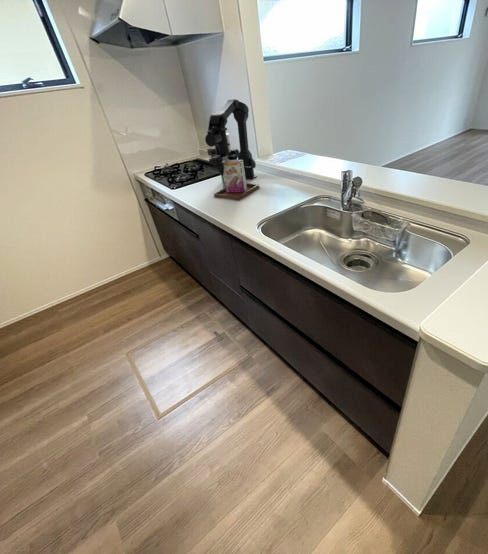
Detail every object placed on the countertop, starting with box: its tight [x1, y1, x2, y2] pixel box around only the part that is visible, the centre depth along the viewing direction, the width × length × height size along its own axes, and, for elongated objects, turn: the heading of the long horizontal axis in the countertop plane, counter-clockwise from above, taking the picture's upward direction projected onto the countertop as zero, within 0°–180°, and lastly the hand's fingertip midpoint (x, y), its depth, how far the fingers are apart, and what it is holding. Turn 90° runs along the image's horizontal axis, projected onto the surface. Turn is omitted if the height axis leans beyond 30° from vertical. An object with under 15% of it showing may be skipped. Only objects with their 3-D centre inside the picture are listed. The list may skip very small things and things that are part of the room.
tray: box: [213, 182, 260, 201], centre depth 164 cm, size 20×17×2 cm
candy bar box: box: [222, 159, 247, 193], centre depth 159 cm, size 11×5×16 cm, turn 78°
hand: (227, 172), depth 160 cm, fingers open, 9 cm apart
